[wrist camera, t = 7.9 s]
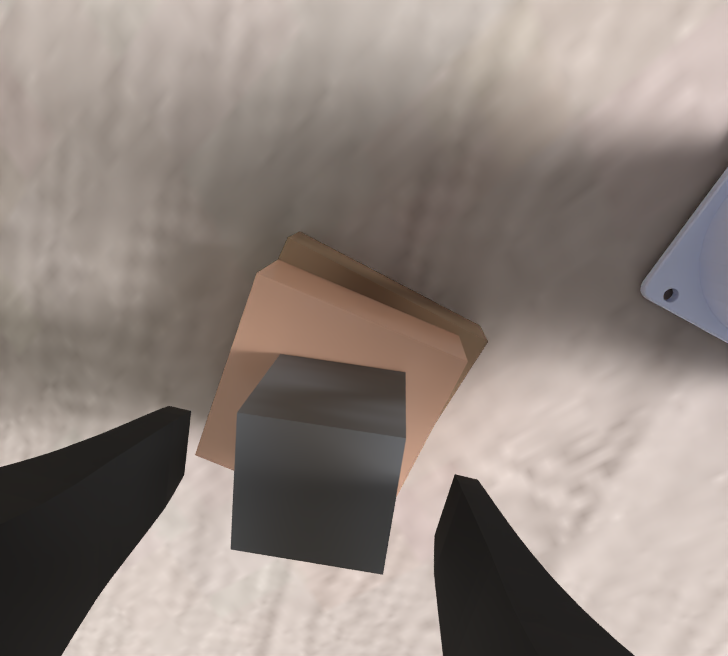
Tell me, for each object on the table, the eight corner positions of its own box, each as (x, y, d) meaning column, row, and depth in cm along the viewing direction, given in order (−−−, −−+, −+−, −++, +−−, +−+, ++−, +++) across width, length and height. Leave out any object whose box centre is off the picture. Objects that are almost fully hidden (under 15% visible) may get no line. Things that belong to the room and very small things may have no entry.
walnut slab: (477, 321, 19) (487, 341, 17) (386, 467, 22) (384, 502, 19) (302, 229, 19) (287, 237, 16) (230, 389, 21) (207, 416, 19)
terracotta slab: (459, 335, 17) (468, 361, 14) (382, 484, 19) (379, 528, 17) (278, 259, 16) (256, 273, 14) (221, 419, 19) (195, 454, 16)
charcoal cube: (405, 372, 15) (405, 438, 11) (388, 480, 16) (383, 574, 12) (280, 353, 15) (237, 412, 11) (271, 462, 16) (230, 549, 12)
